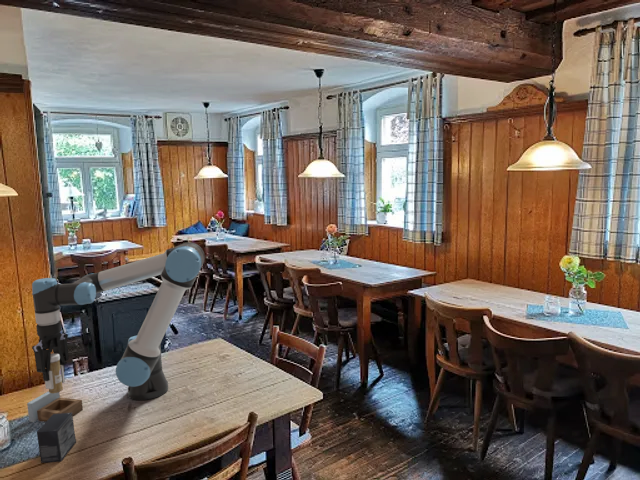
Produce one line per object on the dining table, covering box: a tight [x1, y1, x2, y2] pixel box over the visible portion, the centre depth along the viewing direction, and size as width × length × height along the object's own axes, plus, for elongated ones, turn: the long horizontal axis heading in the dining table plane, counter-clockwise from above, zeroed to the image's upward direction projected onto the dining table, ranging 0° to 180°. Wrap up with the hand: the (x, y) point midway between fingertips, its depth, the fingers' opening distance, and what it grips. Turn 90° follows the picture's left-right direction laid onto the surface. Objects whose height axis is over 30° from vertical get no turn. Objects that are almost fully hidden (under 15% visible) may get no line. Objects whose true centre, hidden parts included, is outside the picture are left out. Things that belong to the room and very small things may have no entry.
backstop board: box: [26, 390, 61, 423], centre depth 168 cm, size 2×12×7 cm, turn 165°
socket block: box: [37, 396, 84, 423], centre depth 167 cm, size 10×10×4 cm
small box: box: [36, 413, 77, 464], centre depth 144 cm, size 11×6×10 cm, turn 5°
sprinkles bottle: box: [48, 352, 64, 393], centre depth 165 cm, size 5×5×14 cm
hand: (55, 385), depth 165 cm, fingers closed on sprinkles bottle, 4 cm apart
